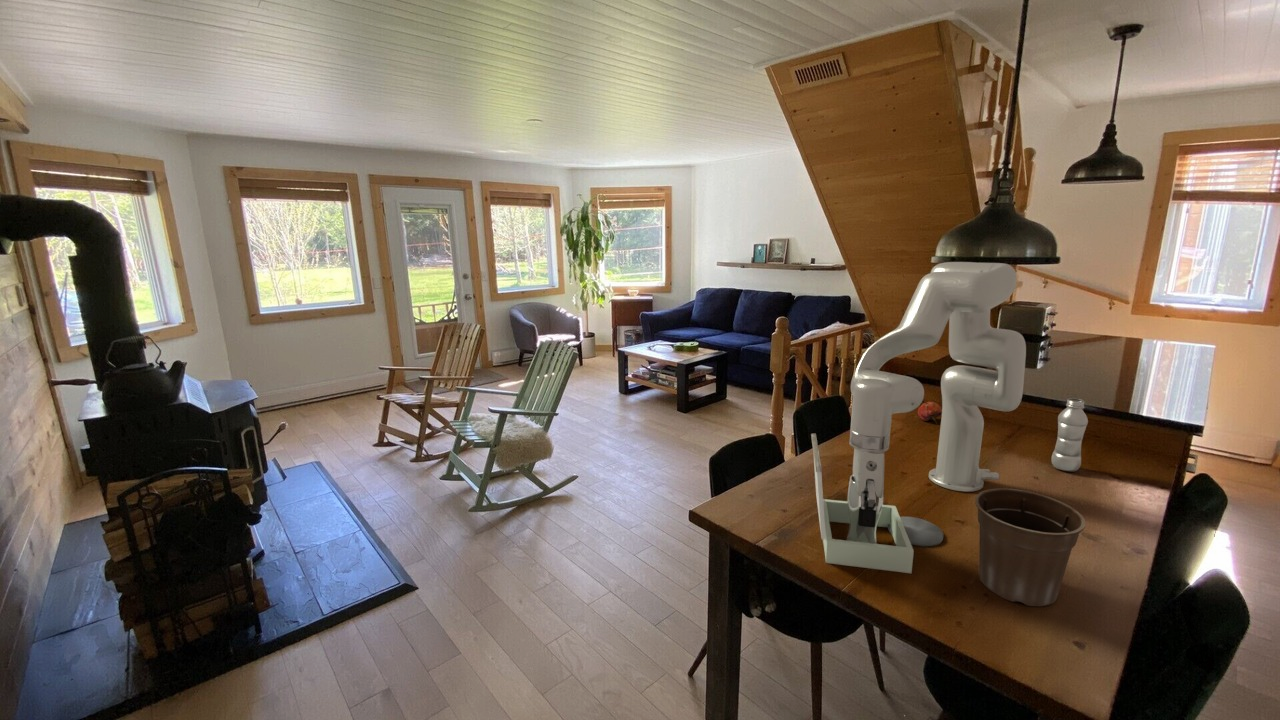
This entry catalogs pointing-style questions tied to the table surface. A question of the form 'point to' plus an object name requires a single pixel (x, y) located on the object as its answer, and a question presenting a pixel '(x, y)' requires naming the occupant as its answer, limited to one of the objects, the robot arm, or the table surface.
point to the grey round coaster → (921, 531)
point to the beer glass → (854, 503)
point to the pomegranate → (929, 411)
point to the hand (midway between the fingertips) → (862, 514)
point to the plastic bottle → (1070, 436)
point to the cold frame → (868, 553)
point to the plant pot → (1025, 544)
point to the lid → (818, 485)
